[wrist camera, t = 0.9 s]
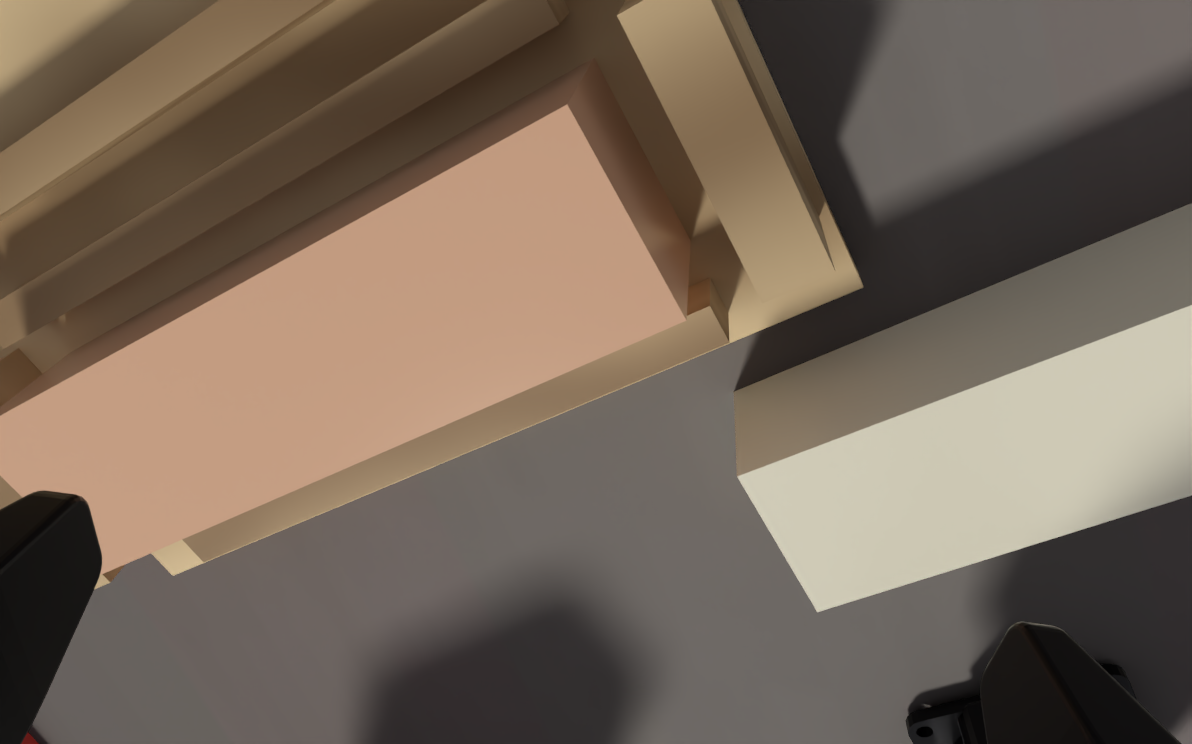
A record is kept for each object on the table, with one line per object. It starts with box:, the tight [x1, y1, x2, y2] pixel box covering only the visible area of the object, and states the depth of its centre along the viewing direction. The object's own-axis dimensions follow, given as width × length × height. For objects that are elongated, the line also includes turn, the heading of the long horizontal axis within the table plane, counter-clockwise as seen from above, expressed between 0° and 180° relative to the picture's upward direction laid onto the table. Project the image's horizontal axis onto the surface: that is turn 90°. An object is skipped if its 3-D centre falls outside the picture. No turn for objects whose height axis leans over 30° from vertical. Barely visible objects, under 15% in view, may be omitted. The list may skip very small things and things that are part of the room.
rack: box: [0, 0, 863, 589], centre depth 19 cm, size 20×22×4 cm
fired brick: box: [0, 58, 691, 575], centre depth 20 cm, size 4×16×4 cm, turn 119°
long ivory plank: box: [734, 203, 1192, 612], centre depth 20 cm, size 4×16×4 cm, turn 120°
